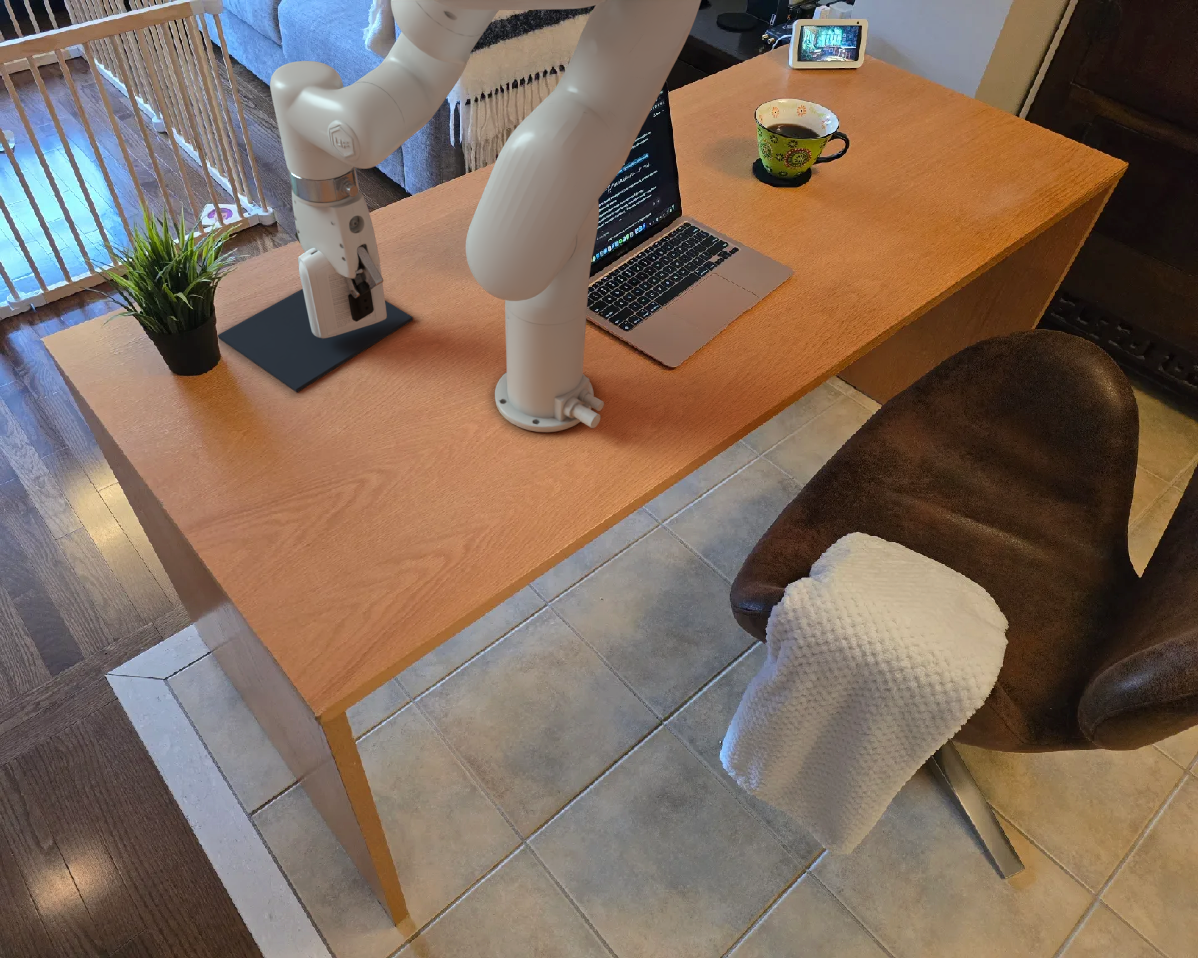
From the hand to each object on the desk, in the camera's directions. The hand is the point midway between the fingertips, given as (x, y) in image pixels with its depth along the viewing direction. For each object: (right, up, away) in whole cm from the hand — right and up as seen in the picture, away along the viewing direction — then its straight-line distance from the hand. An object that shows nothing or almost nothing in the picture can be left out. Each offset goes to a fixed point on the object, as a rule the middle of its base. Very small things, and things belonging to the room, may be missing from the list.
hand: (347, 304), depth 114 cm
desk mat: (-5, -2, +5) cm, 8 cm away
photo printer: (0, -2, +2) cm, 3 cm away
